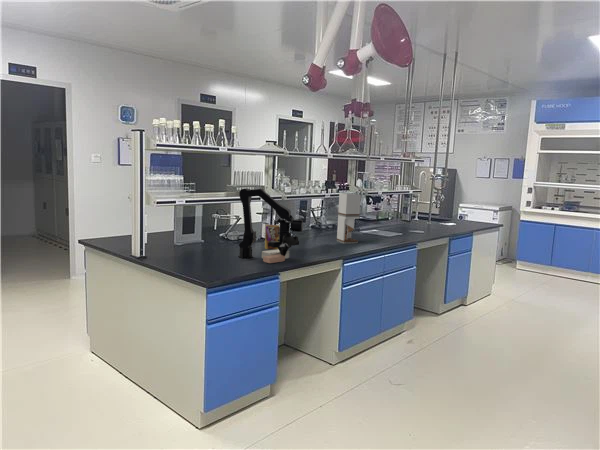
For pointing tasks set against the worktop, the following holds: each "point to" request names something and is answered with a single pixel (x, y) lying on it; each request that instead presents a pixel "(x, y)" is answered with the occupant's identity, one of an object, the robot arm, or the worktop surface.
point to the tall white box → (347, 216)
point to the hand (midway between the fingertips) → (283, 257)
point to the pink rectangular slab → (273, 258)
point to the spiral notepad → (274, 253)
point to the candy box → (271, 235)
